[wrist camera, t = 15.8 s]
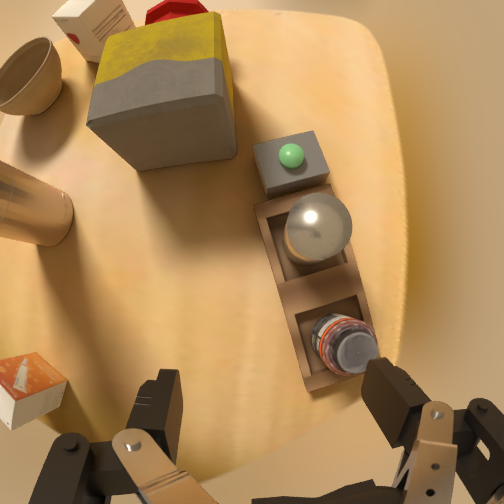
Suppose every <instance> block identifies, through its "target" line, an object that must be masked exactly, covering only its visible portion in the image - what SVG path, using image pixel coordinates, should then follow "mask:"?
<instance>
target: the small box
mask: <svg viewBox="0 0 504 504" xmlns="http://www.w3.org/2000/svg"><path fill="white" fill-rule="evenodd" d="M67 381H68V380H67V379H66V378H64V377H63V376H62V375H61V374H59V373H58V372H57V371H56V370H55V369H54V368H52V367H51V366H50V365H49V364H48V363H47V362H46V361H45V360H44V359H43V358H42V357H41V356H40V355H39V354H38V353H37V352H34V353H30V354H25V355H21V356H16V357H12V358H7V359H3V360H0V419H1V420H2V421H3V422H4V423H5V424H6V425H7V427H8V428H9V429H10V430H14V429H16V428H18V427H20V426H22V425H24V424H26V423H28V422H30V421H32V420H34V419H36V418H38V417H40V416H42V415H44V414H46V413H48V412H50V411H52V410H54V409H56V408H58V407H60V404H61V401H62V398H63V394H64V391H65V388H66V384H67Z"/></svg>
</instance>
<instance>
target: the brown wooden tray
mask: <svg viewBox="0 0 504 504" xmlns="http://www.w3.org/2000/svg"><path fill="white" fill-rule="evenodd" d="M312 193H325V194H329V195H331V196H333V197H335V196H334V193H333V190H332V188H331V185H330V184H327V185H323V186H319V187H315V188H312V189H308V190H304V191H300V192H297V193H293V194H289V195H286V196H282V197H279V198H275V199H271V200H268V201H264V202H261V203H257V204H254V205H253V206H254V210H255V214H256V217H257V220H258V224H259V227H260V231H261V234H262V237H263V241H264V244H265V247H266V251H267V254H268V258H269V261H270V264H271V268H272V271H273V275H274V278H275V282H276V285H277V288H278V292H279V295H280V299H281V302H282V306H283V309H284V313H285V316H286V320H287V323H288V327H289V330H290V334H291V337H292V341H293V344H294V348H295V352H296V355H297V359H298V362H299V366H300V369H301V373H302V377H303V380H304V384H305V387H306V390H307V392H309V391H313V390H316V389H319V388H322V387H325V386H329V385H332V384H335V383H338V382H340V381H343V380H346V379H349V378H352V377H355V376H357V375H360V374H363V373H365V371H364V372H362V373H358V374H355V375H350V376H344V375H339V374H336V373H334V372H333V371H331V370H330V369H329V368H328V367H327V366H326V365H325V364H324V363H323V362H322V360H321V359H320V358H319V357H318V355H317V354H316V353H315V351H314V350H313V348H312V345H311V341H310V334H311V330H312V328H313V326H314V324H315V323H316V322H317V321H318V320H319V319H320V318H321V317H323V316H325V315H327V314H332V313H337V314H343V315H347V316H349V317H353V318H356V319H358V320H361V321H363V322H365V323H367V324H368V325H369V326H370V327H371V328H372V330H373V331H374V328H373V324H372V319H371V315H370V311H369V308H368V304H367V300H366V296H365V292H364V289H363V285H362V281H361V278H360V274H359V271H358V267H357V264H356V261H355V257H354V254H353V251H352V247H351V244H350V241H349V242H348V244H347V245H346V246H345V248H344V249H343V250H342V251H340V252H339V253H338V254H336V255H334V256H332V257H330V258H328V259H325V260H323V261H321V262H319V263H317V264H314V265H311V266H301V265H298V264H295V263H294V262H292V261H291V260H290V259H289V258H288V257H287V256H286V254H285V253H284V250H283V247H282V236H283V233H284V229H285V226H286V222H287V218H288V215H289V212H290V210H291V208H292V206H293V205H294V204H295V203H296V202H297V201H298V200H299V199H300V198H302V197H303V196H305V195H308V194H312ZM374 333H375V332H374ZM377 347H378V345H377ZM377 358H380V354H379V349H378V354H377ZM377 358H376V359H377Z"/></svg>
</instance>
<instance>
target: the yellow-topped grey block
mask: <svg viewBox="0 0 504 504" xmlns="http://www.w3.org/2000/svg"><path fill="white" fill-rule="evenodd" d="M86 126H87V127H89V128H90V129H91V130H92V131H93V132H94V133H95V134H96V135H97V136H99V137H100V138H101V139H102V140H103V141H104V142H105V143H106V144H107V145H109V146H110V147H111V148H112V149H113V150H114V151H115V152H116V153H117V154H119V155H120V156H121V157H122V158H123V159H124V160H125V161H126V162H127V163H129V164H130V165H131V166H132V167H133V168H134V169H135V170H136V171H143V170H149V169H156V168H162V167H168V166H175V165H182V164H189V163H197V162H205V161H214V160H222V159H232V158H233V157H234V156H235V155H236V154H237V148H236V133H235V117H234V100H233V84H232V74H231V69H230V63H229V58H228V52H227V47H226V41H225V36H224V31H223V25H222V20H221V15H220V14H218V13H216V12H209V11H208V10H207V9H206V8H205V7H204V6H203V5H202V4H201V3H200V2H199V1H198V0H164V1H163V2H161V3H159V4H158V5H156V6H154V7H153V8H151V9H149V10H148V11H147V14H146V21H145V26H141V27H137V28H134V29H130V30H127V31H124V32H120V33H117V34H114V35H111V36H109V37H108V38H107V40H106V43H105V46H104V50H103V53H102V56H101V60H100V64H99V68H98V71H97V75H96V79H95V84H94V88H93V92H92V97H91V102H90V107H89V112H88V117H87V123H86Z"/></svg>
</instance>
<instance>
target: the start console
mask: <svg viewBox="0 0 504 504" xmlns="http://www.w3.org/2000/svg"><path fill="white" fill-rule="evenodd" d="M253 153H254V159H255V162H256V166H257V169H258V172H259V175H260V178H261V181H262V184H263V187H264V191H265V194H266V197H267V198H269V197H272V196H276V195H280V194H283V193H287V192H291V191H294V190H298V189H302V188H305V187H309V186H313V185H317V184H321V183H324V182H325V180H326V178H327V176H328V175H329V173H330V171H329V169H328V166H327V163H326V161H325V158H324V156H323V153H322V151H321V148H320V146H319V143H318V141H317V138H316V136H315V133H314V131H308V132H304V133H299V134H295V135H291V136H287V137H283V138H279V139H275V140H271V141H267V142H263V143H259V144H255V145H253Z"/></svg>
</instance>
